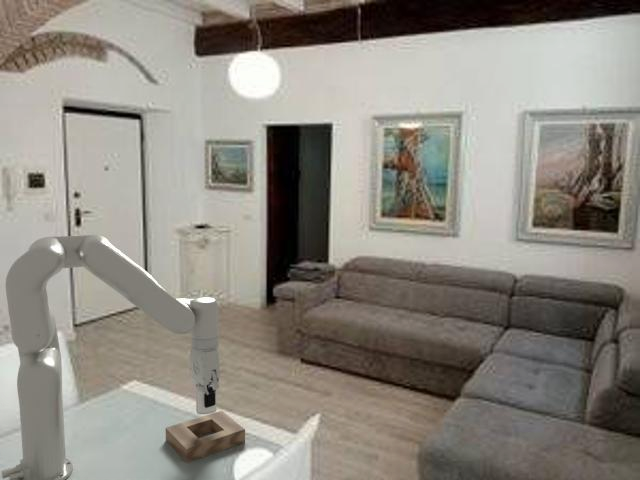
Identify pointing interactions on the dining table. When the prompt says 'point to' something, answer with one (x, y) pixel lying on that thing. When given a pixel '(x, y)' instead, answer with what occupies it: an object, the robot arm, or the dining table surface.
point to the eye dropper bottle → (200, 401)
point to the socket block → (194, 447)
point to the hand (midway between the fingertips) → (206, 402)
